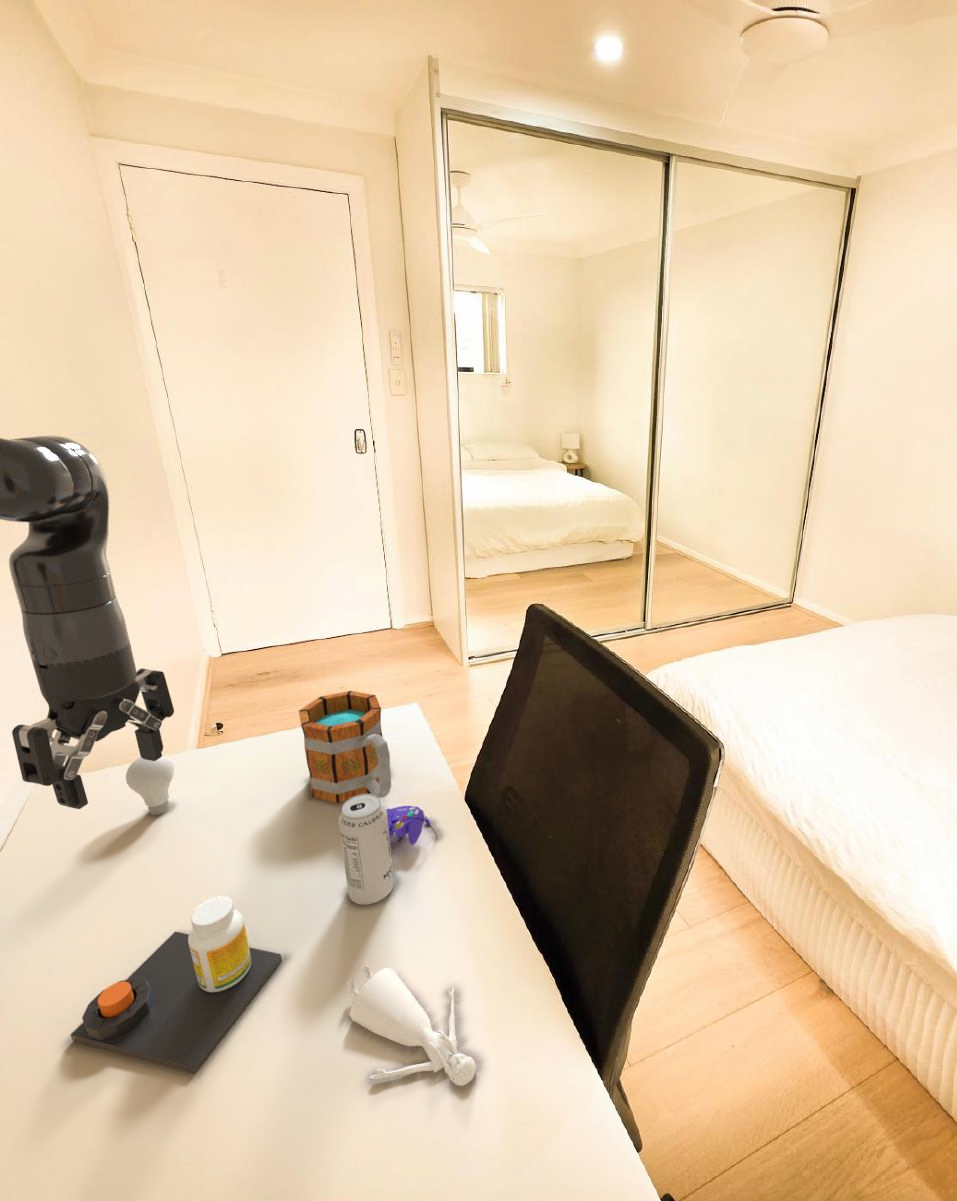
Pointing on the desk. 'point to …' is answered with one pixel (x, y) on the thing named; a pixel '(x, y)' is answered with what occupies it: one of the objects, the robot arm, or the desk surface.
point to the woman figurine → (407, 1025)
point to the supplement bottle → (218, 944)
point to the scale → (173, 1009)
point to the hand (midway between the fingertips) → (116, 780)
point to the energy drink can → (366, 849)
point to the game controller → (406, 822)
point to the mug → (345, 746)
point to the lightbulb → (151, 782)
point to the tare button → (115, 999)
